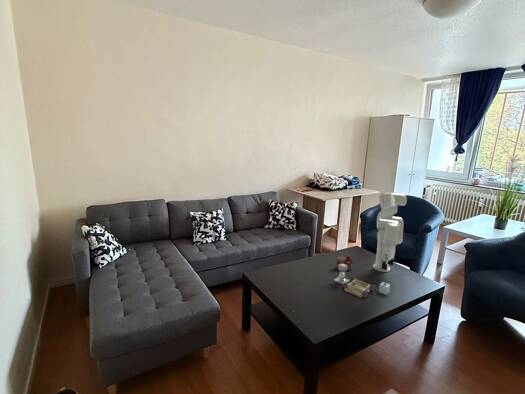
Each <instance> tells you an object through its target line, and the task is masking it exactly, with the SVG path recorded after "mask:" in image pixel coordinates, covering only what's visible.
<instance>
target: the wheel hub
mask: <svg viewBox="0 0 525 394" xmlns="http://www.w3.org/2000/svg"><path fill="white" fill-rule="evenodd" d="M337 267H338V268H337V269H338V271H339V272H347V271H348V270H347V265H346V264H339V266H337Z"/></svg>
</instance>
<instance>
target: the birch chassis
mask: <svg viewBox="0 0 525 394" xmlns="http://www.w3.org/2000/svg"><path fill="white" fill-rule="evenodd" d="M342 288H343V289H344V291H345V292H347V293H350V294H352V295H354V296H355V297H359V298H361V299H362V298H365V299H366V298H367V297H368V295H369V292H370V291H371V292H375V291H376V285H374V284H369V283H366V282H364V281H361V280H359V279H357V278H356V277H354V276H352V277H351V278H350V282H347V283H345V282H344V283H343V284H342Z"/></svg>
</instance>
